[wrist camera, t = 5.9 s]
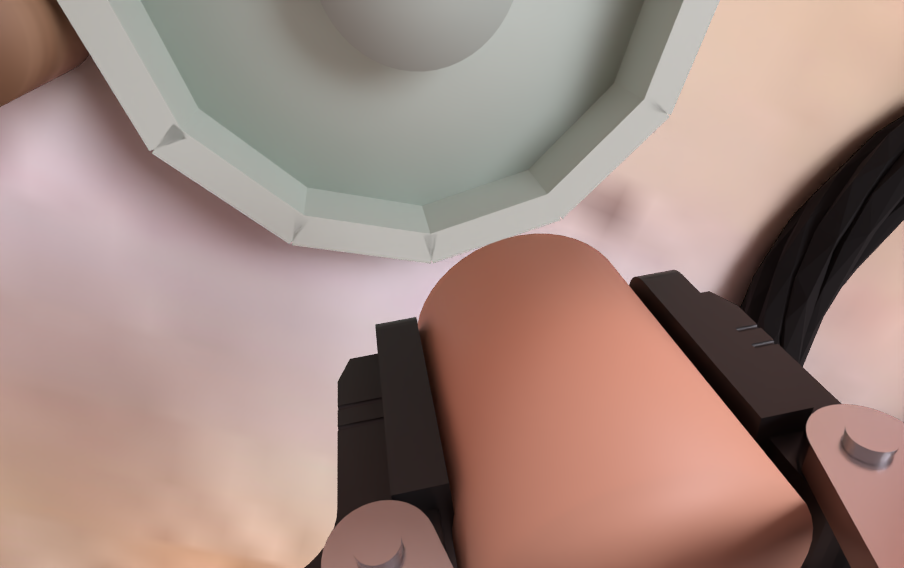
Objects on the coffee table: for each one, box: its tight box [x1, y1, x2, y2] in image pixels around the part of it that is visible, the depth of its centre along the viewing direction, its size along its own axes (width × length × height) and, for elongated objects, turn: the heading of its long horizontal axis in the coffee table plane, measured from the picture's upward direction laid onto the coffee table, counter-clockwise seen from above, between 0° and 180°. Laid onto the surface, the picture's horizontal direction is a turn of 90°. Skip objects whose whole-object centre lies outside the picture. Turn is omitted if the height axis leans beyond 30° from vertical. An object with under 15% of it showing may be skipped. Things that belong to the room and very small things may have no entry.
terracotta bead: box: [418, 234, 813, 568], centre depth 8 cm, size 4×4×5 cm
